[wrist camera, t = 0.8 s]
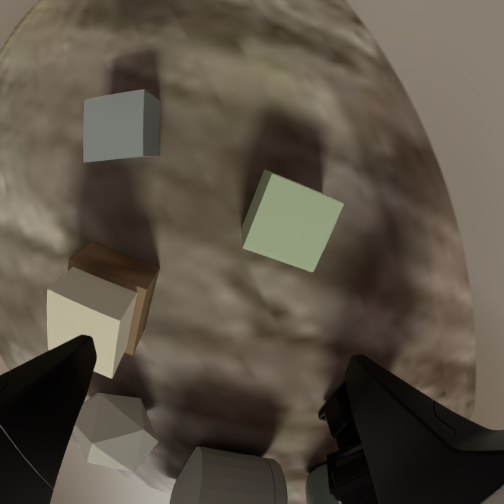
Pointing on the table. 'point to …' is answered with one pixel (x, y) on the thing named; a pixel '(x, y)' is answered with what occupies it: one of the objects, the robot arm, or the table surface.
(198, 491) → the alarm clock
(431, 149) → the table surface
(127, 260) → the tower base
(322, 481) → the cup
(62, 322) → the tower top
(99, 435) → the die
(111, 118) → the slate cube
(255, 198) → the sage cube
